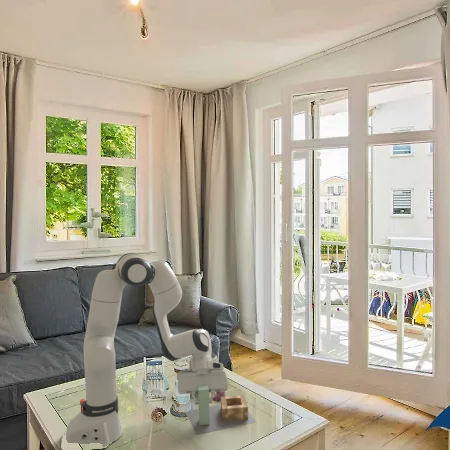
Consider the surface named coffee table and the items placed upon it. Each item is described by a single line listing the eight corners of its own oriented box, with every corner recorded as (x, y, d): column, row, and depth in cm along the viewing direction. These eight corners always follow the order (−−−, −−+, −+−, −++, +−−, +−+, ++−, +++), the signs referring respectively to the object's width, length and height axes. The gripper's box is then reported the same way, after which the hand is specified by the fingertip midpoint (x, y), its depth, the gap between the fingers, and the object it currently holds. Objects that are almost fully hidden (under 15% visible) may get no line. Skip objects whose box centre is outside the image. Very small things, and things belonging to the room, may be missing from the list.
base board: (196, 438, 152) (196, 434, 152) (186, 414, 169) (186, 411, 169) (256, 425, 159) (256, 421, 159) (240, 404, 177) (240, 400, 176)
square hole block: (223, 421, 161) (222, 408, 160) (221, 408, 171) (220, 396, 170) (248, 419, 162) (247, 407, 161) (244, 406, 172) (244, 395, 171)
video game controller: (220, 407, 178) (226, 393, 177) (210, 401, 179) (217, 388, 178) (224, 396, 188) (230, 383, 187) (215, 391, 188) (221, 378, 187)
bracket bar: (199, 425, 158) (198, 390, 157) (199, 419, 162) (197, 385, 161) (209, 424, 158) (208, 389, 157) (209, 419, 162) (208, 384, 161)
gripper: (176, 367, 165) (176, 402, 156) (226, 363, 167) (229, 398, 158) (177, 373, 170) (177, 408, 160) (226, 370, 171) (229, 404, 162)
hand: (203, 403), depth 159 cm, fingers closed on bracket bar, 4 cm apart
